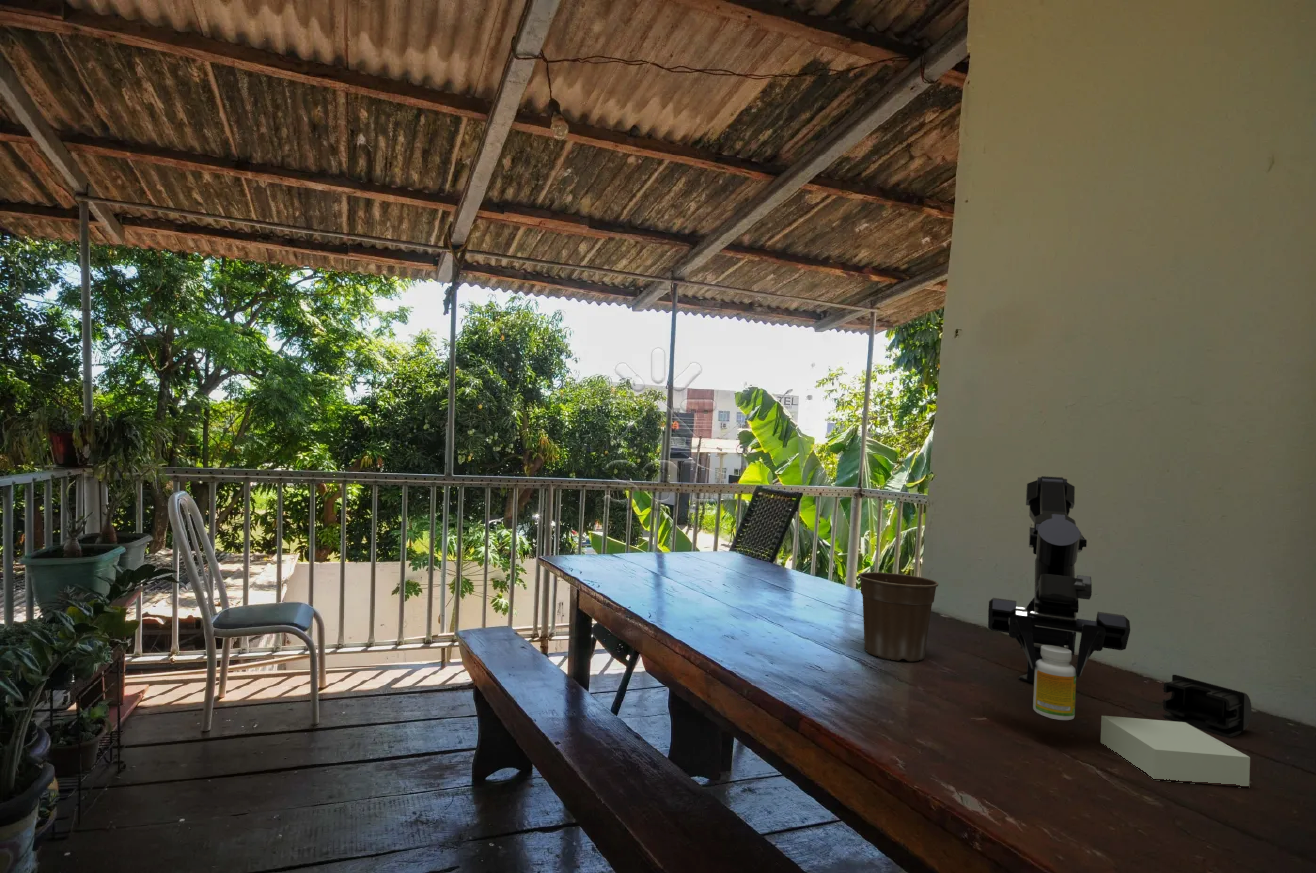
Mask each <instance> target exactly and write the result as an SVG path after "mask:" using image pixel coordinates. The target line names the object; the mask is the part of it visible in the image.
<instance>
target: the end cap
mask: <svg viewBox="0 0 1316 873" xmlns="http://www.w3.org/2000/svg"><path fill="white" fill-rule="evenodd" d="M1162 690H1163V693H1166V694H1167V693H1171V697H1169V698H1165V699H1162V708H1163V710H1164V711H1165V712H1166V713H1163V718H1164V719H1166V720H1168V721H1176V722H1185V723H1187V724H1189V725H1191V726H1193V727H1195V728H1197V729H1198V730H1200V731H1203V732H1204V731H1205V732H1207V733H1211V734H1214V735H1217V736H1220V737H1223V738H1227V739H1230V738H1233V737H1235V736H1238V735H1240V734H1242V732H1244V731H1245V730H1246V729H1247V728H1248V726H1249V725H1250V724H1249V723H1250V721H1251V718H1252V717H1251V716H1252V703H1251V702H1252V701H1251V698H1250V696H1249V694H1247V693H1246V692H1242V691H1239V690H1236V689H1231V688H1228V687H1224V686H1220V685H1217V684H1212V683H1208V682H1205V681H1200V680H1199V679H1194V678H1189V677H1186V676H1182V675H1178V674H1172V676H1171V681H1167V682H1165V683H1163V687H1162Z"/></svg>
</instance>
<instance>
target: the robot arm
mask: <svg viewBox="0 0 1316 873" xmlns="http://www.w3.org/2000/svg"><path fill="white" fill-rule="evenodd" d="M1075 489H1076V488H1075V486H1074V485H1073V484H1072V483H1069V482H1068V479H1067V478H1064V477H1063V476H1061V477H1060V476H1046V475H1045V476H1039V477H1037V480H1033V481H1031V482H1028V483H1026V489H1025V490H1026V491H1025V492H1026V494H1025V506H1027V507H1028V506H1029V509H1028V510H1029V511H1028V513H1029V515H1028V516H1029V517H1030V519H1031V521H1032V523H1033V527H1031V526H1029V529H1028V530H1029V532H1028V548H1032V553H1033V554H1034V555H1036V558H1034V559H1035V560H1034V597H1033V598H1032V599H1031V600H1030V602H1029V603H1028V604H1027V606H1026V607H1022V606H1017V600H1012V599H1006V598H1005V599H1004V598H997V597H992V598H991V599H990V600H989V601H988V610H987V611H988V614H987V616H988V617H987V619H988V620H987V621H988V622H987V628H988V629H989V630H990V631H992V632H998V633H1005V634H1008V636H1009V637H1010V638H1013V639H1015V640H1016V641H1017V643H1018V644H1019V646H1020V649H1022V651H1024V654H1025V656H1026V659H1027V662H1026V663H1027V664H1026V674H1023V675H1019V676H1018V680H1020V681H1021V680H1022V681H1025V682H1028V683H1030V684H1034V673H1035V663H1036V661H1037V660H1039V659H1042V656H1041V654H1040V652H1041V646H1042V645H1053V646H1059V647H1063V648H1066V649H1069V650H1071V652H1072V656H1075V652H1076V651H1075V649H1076V648H1075V647H1076V640H1077V639H1076V637H1077V633H1079V634H1080V640H1079V645H1078V646H1079V647H1078V653H1077V659H1076V667H1075V669H1076V678H1081V676H1082V673H1083V670H1084V668H1085V666H1086V664H1087V662H1088V660H1089V658H1090V657H1091V656H1092V654H1093V653H1094V652H1101V651H1102V650H1103V648H1104V649H1108V650H1116V651H1117V650H1118V651H1124V650H1126V649H1127V646H1128V642H1129V639H1130V638H1129V637H1130V634H1131V623H1130V622H1131V621H1130V620H1129V619H1128V618H1127V616H1126V615H1124V614H1117V613H1109V612H1103V611H1102V612H1101V611H1097V614H1096V619H1095V620H1091V619H1090V620H1089V619H1084V618H1077V614H1078V613H1079V599H1081V600H1091V598H1092V593H1093V592H1092V590H1093V588H1092V584H1093V583H1092V576H1088V575H1080V574H1079V575H1078V574H1077V575H1076V573H1075V572H1076V571H1075V568H1076V566H1075V565H1076V563H1077V560H1078V553H1081V552H1082V551H1083V548H1087V546H1088V545H1087V539H1086V538H1085V537H1084V535H1083V534H1082V532H1081V530H1080V528H1079V527H1078V526H1077V524H1076V520H1075V519H1074V518H1072V517H1070V516H1069V515H1070V511H1071V510H1073V509H1074V506H1075V492H1076V490H1075Z"/></svg>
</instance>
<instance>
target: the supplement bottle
mask: <svg viewBox="0 0 1316 873" xmlns="http://www.w3.org/2000/svg"><path fill="white" fill-rule="evenodd" d="M1040 654H1041V656H1042V659H1039V660H1037V661H1036V663H1035V673H1034V683H1033V698H1032V709H1033V710H1034V712H1036V713H1037V714H1038V715H1041V716H1044V717H1046V718H1049V719H1052V720H1053V719H1054V720H1059V721H1069V720H1073V719H1074V718H1075V716H1076V693H1077V692H1076V691H1077V690H1076V689H1077V675H1076V667H1074V665H1072V664H1071V662H1072V657H1073V655H1072V652H1071V650H1069V649H1066V648H1063V647H1059V646H1053V645H1042V646H1041V652H1040Z"/></svg>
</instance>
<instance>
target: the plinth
mask: <svg viewBox="0 0 1316 873" xmlns="http://www.w3.org/2000/svg"><path fill="white" fill-rule="evenodd" d="M1100 720H1101V722H1100V743H1101V744H1102V745H1103V744H1104V745H1103V746H1105V745H1106V746H1107V748H1108V749H1109V748H1110V749H1111V751H1112V750H1113V751H1114V752H1113V751H1112V752H1113V753H1115V752H1117V753H1118V754H1119V755H1121V756H1122V757H1123V758H1125V759H1126V760H1128V761H1129V762H1131V763H1132V764H1133V765H1135V766H1136V767H1138V768H1140V769H1141V770H1143V771H1144V772H1146V773H1147V774H1148V775H1149V776H1151V777H1152V778H1153V779H1164V780H1166V779H1167V780H1169V779H1170V780H1176V781H1178V780H1179V781H1192V782H1208V783H1221V784H1236V785H1240V786H1249V787H1250V774H1251V773H1250V772H1251V770H1250V769H1251V768H1250V767H1251V757H1250V756H1249V755H1247V754H1245V753H1243V752H1241V751H1240V750H1238V749H1235V748H1234V747H1231V746H1230V745H1227V744H1226V743H1225V742H1223V741H1221V740H1219V739H1217V738H1215V737H1213V736H1212V735H1210V734H1208V733H1206V732H1204V731H1203V730H1201V729H1197V728H1195V727H1193V726H1191V725H1189V724H1187V723H1185V722H1176V721H1172V720H1161V719H1150V718H1149V719H1148V718H1135V717H1124V716H1123V717H1122V716H1112V715H1110V716H1109V715H1101V719H1100ZM1106 746H1105V747H1106ZM1110 749H1109V750H1110ZM1118 754H1117V755H1118ZM1119 755H1118V756H1119ZM1122 757H1121V758H1122ZM1123 758H1122V759H1123ZM1125 759H1124V760H1125ZM1126 760H1125V761H1126ZM1128 761H1127V762H1128ZM1129 762H1128V763H1129ZM1132 764H1131V765H1132ZM1133 765H1132V766H1133ZM1135 766H1134V767H1135ZM1136 767H1135V768H1136ZM1138 768H1137V769H1138ZM1149 776H1148V777H1149ZM1152 778H1151V779H1152ZM1153 779H1152V780H1153Z"/></svg>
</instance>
